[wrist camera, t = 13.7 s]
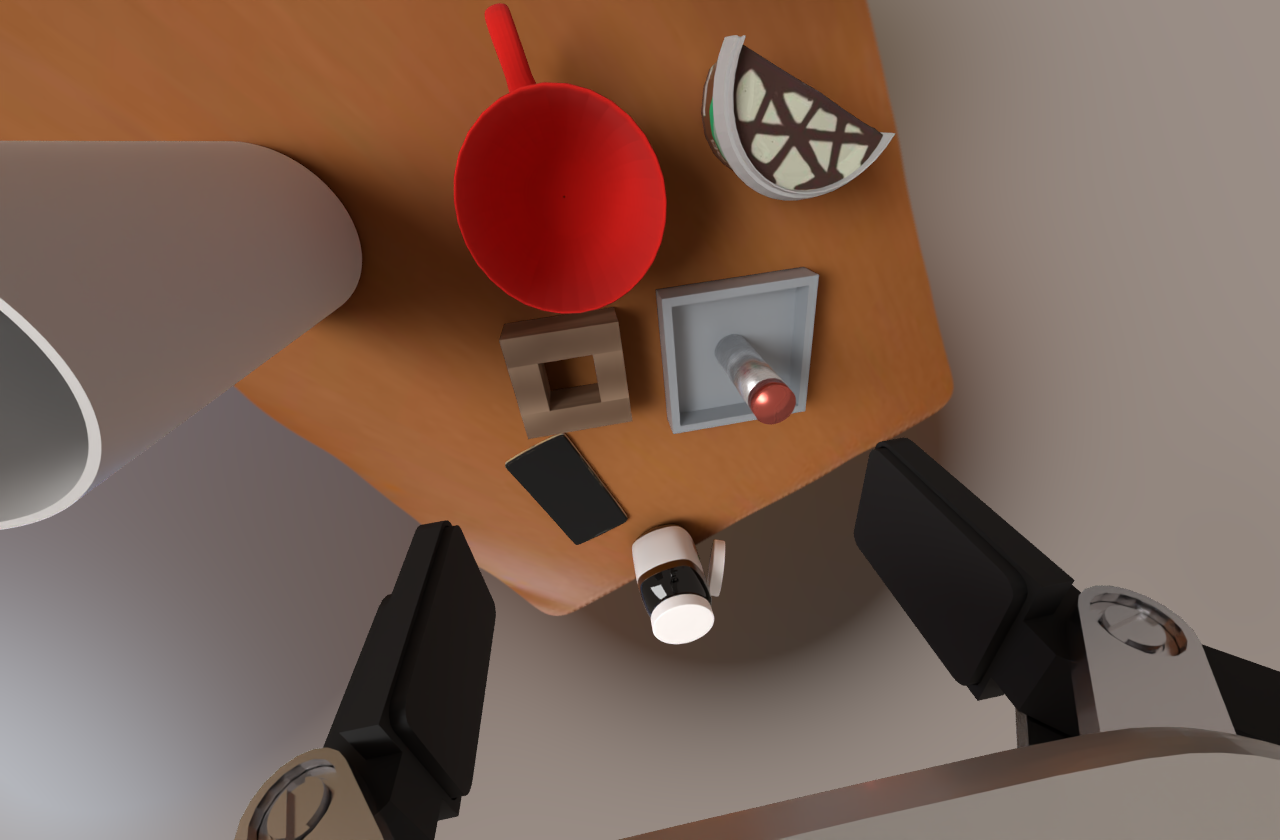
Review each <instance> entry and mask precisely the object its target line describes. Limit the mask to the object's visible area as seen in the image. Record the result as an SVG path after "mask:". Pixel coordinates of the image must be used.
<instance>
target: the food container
mask: <svg viewBox="0 0 1280 840" xmlns="http://www.w3.org/2000/svg"><path fill="white" fill-rule="evenodd" d="M745 37H746V36H745V35H744V36H742V37H739V36H737V35H734V36H729V37H725V38H724V41H723V44H722V47H721V50H720V53H719V57H718V61H717V62H716V63H715V64H714V65H713V66H712V67H711V68H710V69H709V72H708V76H707V79H706V82H705V85H704V88H703V99H702V109H701V115H702V121H703V127H704V134H705V137H706V139H707V141H708V143H709V145H710V147H711V149H712V151H713V153H714V155H715V156H716V157H717V158H718V159H719V160H720V161H721V162H722V163H723V164H724V165H726V166H727V167H729V168H730V169H732V170H734V172H735V173H736V175H737V176H738V177H739V178H740V179H741V180H742V181H743V182H744V183H745V184H746V185H747V186H749V187H750V188H752V189H753V190H755V191H756V192H758V193H760V194H762V195H765V196H767V197H770V198H774V199H779V200H802V199H807V198H812V197H816V196H820V195H823V194H826V193H828V192H831V191H834V190H836V189H838V188H839V187H841V186H843V185H845V184H847V183H848V182H850V181H851V180H852V179H854V178H855V177H857V176H858V175H859V174H860V173H862V172H863V171H864V170H865V169H866V168H867V167H868V166H870V165H871V164H872V163H873V162H874V161H875V160H876V159H877V157H878V156H879V155H880V154H881V153H882V152H883V150H884V149H885V148H886V147H887V145H888V144H889V142H890V141H891V139H892V138H893V136H894V135H895V133H882V132H878V131H877V130H876V129H875V128H873V127H870V126H868V125H867V124H865V123H863V122H862V121H860V120H859V119H857V118H856V117H854V116H853V115H851V114H850V113H848V112H847V111H846V110H844V109H843V108H841V107H840V106H838V105H837V104H835V103H834V102H833V101H831V100H830V99H829V98H827V97H826V96H824V95H823V94H822V93H820V92H819V91H817V90H815V89H814V88H812V87H810V86H809V85H807V84H805V83H803V82H802V81H800V80H798V79H797V78H795V77H793V76H792V75H790V74H788V73H787V72H785V71H784V70H782V69H780V68H779V67H777V66H776V65H774V64H773V63H771V62H769V61H768V60H766V59H765V58H763V57H762V56H760V55H759V54H757V53H755V52H754V51H752V50H751V49H749V48H747V47H746V46H744V45H743V43H744V40H745Z"/></svg>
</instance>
